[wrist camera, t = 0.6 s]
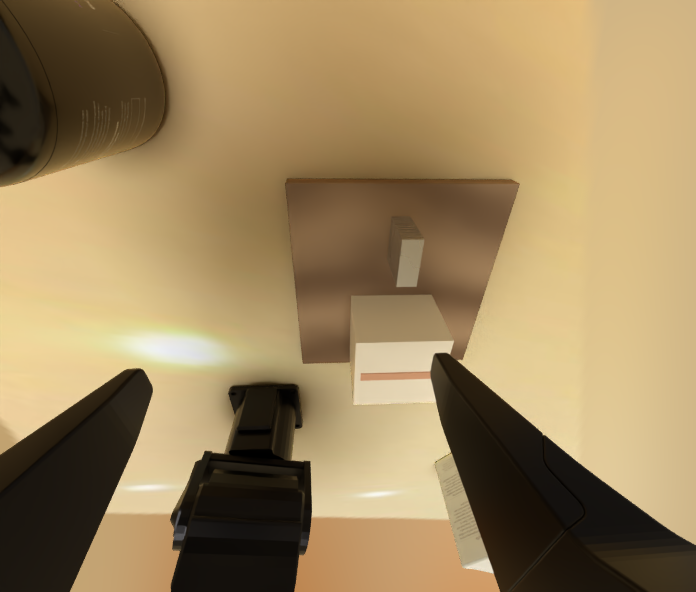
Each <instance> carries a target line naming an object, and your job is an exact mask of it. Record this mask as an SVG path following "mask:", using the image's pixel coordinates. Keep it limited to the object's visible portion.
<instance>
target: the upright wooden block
mask: <svg viewBox="0 0 696 592" xmlns="http://www.w3.org/2000/svg"><path fill="white" fill-rule="evenodd" d="M423 246H424V238H423V236H422V235H421V233H420V231H419V230H418V228H417V226H416V225H415V223H414V222H413V220H412V218H411V217H410V216H391V226H390V236H389V246H388V256H387V260H388V263H389V266H390V269H391V272H392V275H393V278H394V281H395V284H396V287H417V281H418V275H419V269H420V263H421V257H422V252H423Z"/></svg>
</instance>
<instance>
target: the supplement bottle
mask: <svg viewBox="0 0 696 592" xmlns="http://www.w3.org/2000/svg"><path fill="white" fill-rule="evenodd" d="M164 108H165V90H164V83H163V79H162V75H161V71H160V68H159V65H158V63H157V60H156V58H155V56H154V53H153V51H152V49H151V48H150V46H149V44H148V42H147V41H146V39H145V37H144V36H143V34H142V33H141V32H140V30H139V29H138V28H137V26H136V25H135V24H134V23H133V21H132V20H131V19H130V18H129V17H128V16H127V15H126V14H125V13H124V12H123V11H122V9H120V8H119V7H118V6H117V5H116V4H115V3H114V2H113V1H111V0H0V187H5V186H9V185H14V184H18V183H21V182H25V181H28V180H32V179H35V178H38V177H42V176H45V175H48V174H51V173H55V172H58V171H61V170H65V169H68V168H71V167H75V166H78V165H81V164H84V163H88V162H91V161H94V160H98V159H101V158H104V157H107V156H111V155H114V154H117V153H121V152H124V151H127V150H130V149H133V148H135V147H138V146H140V145H142V144H143V143H145V142H146V141H148V140H149V139H150V138H151V137H152V136H153V135H154V134H155V132H156V131H157V129H158V127H159V125H160V123H161V121H162V118H163V114H164Z"/></svg>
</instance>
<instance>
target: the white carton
mask: <svg viewBox="0 0 696 592" xmlns="http://www.w3.org/2000/svg"><path fill="white" fill-rule="evenodd" d="M453 343H454V340H453V338H452V336H451V334H450V332H449V329H448V327H447V325H446V323H445V321H444V319H443V317H442V315H441V313H440V311H439V309H438V307H437V305H436V303H435V301H434V299H433V296H432V295H371V296H351V320H350V366H351V380H352V394H353V405H370V404H401V403H432V402H436V399H435V395H434V390H433V386H432V382H431V377H430V370H431V365H432V360H433V356H434V354H435V353H448V354H450V353H451V350H452V346H453Z"/></svg>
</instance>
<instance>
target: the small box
mask: <svg viewBox="0 0 696 592" xmlns="http://www.w3.org/2000/svg"><path fill="white" fill-rule="evenodd" d="M435 466H436V470H437V474H438V478H439V481H440V485H441V489H442V493H443V497H444V501H445V504H446V508H447V512H448V516H449V519H450V523H451V527H452V531H453V535H454V538H455V542H456V546H457V549H458V553H459V557H460V561H461V565H462V567H463V568H467V569H476V570H481V571H485V572H489V573H493V574H494V572H493V569H492V567H491V564H490V561H489V558H488V555H487V552H486V550H485V547H484V544H483V541H482V538H481V535H480V532H479V530H478V527H477V524H476V521H475V518H474V515H473V513H472V510H471V507H470V504H469V501H468V498H467V496H466V493H465V490H464V487H463V484H462V481H461V479H460V476H459V473H458V470H457V467H456V464H455V462H454V459H453V456H452V453H451V454H449V455H447V456H445V457H444V458H442V459H440V460H439V461H437V462H436V463H435Z"/></svg>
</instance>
